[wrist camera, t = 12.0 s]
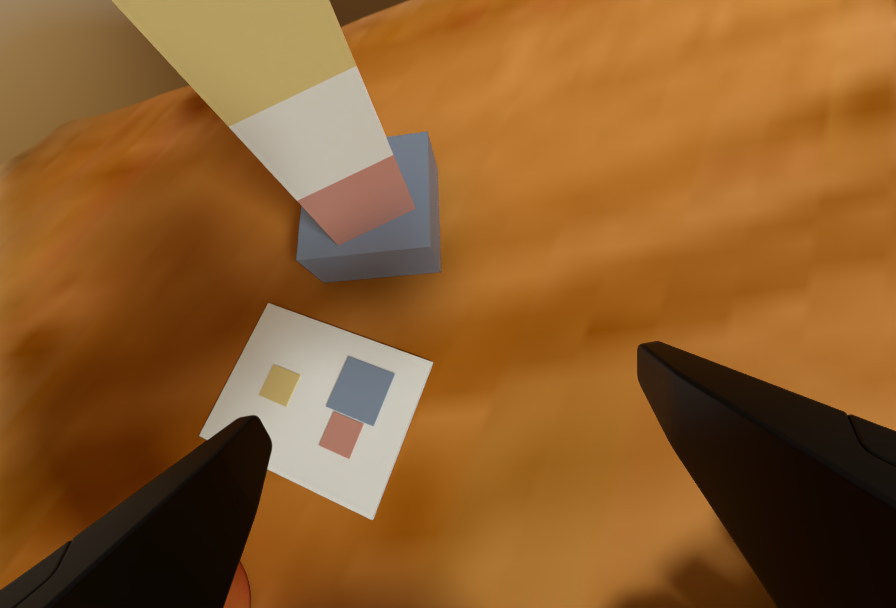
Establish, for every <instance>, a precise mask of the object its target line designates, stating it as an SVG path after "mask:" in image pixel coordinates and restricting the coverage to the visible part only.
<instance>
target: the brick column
mask: <svg viewBox="0 0 896 608" xmlns="http://www.w3.org/2000/svg"><path fill="white" fill-rule="evenodd" d="M112 1H113V2H114V3H115V4H116V6H117V7H118V8H119V9H120V10H121V11H122V12H123V13H124V14H125V15H126V16H127V18H128V19H129V20H130V21H131V22H132V23H133V24H134V25H135V26H136V27H137V28H138V29H139V31H140V32H141V33H142V34H143V35H144V36H145V37H146V38H147V39H148V40H149V41H150V42H151V43H152V45H153V46H154V47H155V48H156V49H157V50H158V51H159V52H160V53H161V54H162V55H163V56H164V57H165V59H167V61H168V62H169V63H170V64H171V65H172V66H173V67H174V68H175V70H176V71H177V72H178V73H179V74H180V75H181V76H182V77H183V78H184V79H185V80H186V81H187V82H188V84H189V85H190V86H191V87H192V88H193V89H194V90H195V91H196V92H197V93H198V94H199V95H200V97H201V98H202V99H203V100H204V101H205V102H206V103H207V104H208V105H209V106H210V107H211V108H212V110H213V111H214V112H215V113H216V114H217V115H218V116H219V117H220V118H221V119H222V120H223V121H224V123H225V124H226V125H227V126H228V127H229V128H230V129H231V130H232V131H233V132H234V133H235V134H236V136H237V137H238V138H239V139H240V140H241V141H242V142H243V143H244V144H245V145H246V146H247V147H248V148H249V150H250V151H251V152H252V153H253V154H254V155H255V156H256V157H257V158H258V159H259V160H260V161H261V163H262V164H263V165H264V166H265V167H266V168H267V169H268V170H269V171H270V172H271V173H272V174H273V176H274V177H275V178H276V179H277V180H278V181H279V182H280V183H281V184H282V185H283V186H284V187H285V189H286V190H287V191H288V192H289V193H290V194H291V195H292V196H293V197H294V198H295V199H296V200H297V202H298V203H299V204H300V205H301V206H302V207H303V208H304V209H305V210H306V211H307V212H308V213H309V215H310V216H311V217H312V218H313V219H314V220H315V221H316V222H317V223H318V224H319V225H320V226H321V227H322V229H323V230H324V231H325V232H326V233H327V234H328V235H329V236H330V237H331V238H332V239H333V240H334V242H335V243H336V244H337V245H338V246H339V245H341V244H343V243H345V242H347V241H350V240H352V239H354V238H356V237H358V236H360V235H362V234H364V233H366V232H368V231H371V230H373V229H375V228H377V227H379V226H381V225H383V224H385V223H387V222H389V221H391V220H394V219H396V218H398V217H400V216H402V215H404V214H406V213H408V212H410V211H412V210H414V209H416V208H415V205H414V203H413V200H412V198H411V196H410V193H409V191H408V188H407V186H406V184H405V181H404V179H403V176H402V174H401V172H400V169H399V167H398V164H397V162H396V160H395V157H394V155H393V152H392V150H391V148H390V145H389V143H388V140H387V138H386V136H385V133H384V131H383V128H382V126H381V124H380V121H379V119H378V116H377V114H376V112H375V109H374V107H373V104H372V102H371V100H370V97H369V95H368V92H367V90H366V88H365V85H364V83H363V80H362V78H361V76H360V73H359V71H358V68H357V66H356V64H355V61H354V59H353V56H352V54H351V52H350V49H349V47H348V44H347V42H346V40H345V37H344V35H343V32H342V30H341V27H340V25H339V23H338V20H337V18H336V15H335V13H334V11H333V9H332V6H331V3H330V1H329V0H112Z"/></svg>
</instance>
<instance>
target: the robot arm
mask: <svg viewBox="0 0 896 608" xmlns="http://www.w3.org/2000/svg"><path fill="white" fill-rule="evenodd" d="M637 376H638V381H639V383H640V386H641V388H642V390H643V392H644V394H645V396H646V398H647V400H648V402H649V403H650V405H651V407H652V409H653V411H654V413H655V415H656V417H657V419H658V421H659V423H660V425H661V427H662V429H663V431H664V433H665V435H666V437H667V439H668V441H669V442H670V444H671V446H672V447H673V449H674V451H675V452H676V454H677V455H678V457H679V458H680V460H681V461H682V463H683V464H684V466H685V468H686V469H687V471H688V472H689V474H690V475H691V477H692V478H693V480H694V481H695V483H696V484H697V486H698V487H699V489H700V490H701V492H702V493H703V495H704V496H705V498H706V499H707V501H708V502H709V504H710V506H711V507H712V509H713V510H714V512H715V513H716V515H717V516H718V518H719V519H720V521H721V522H722V524H723V525H724V527H725V528H726V530H727V531H728V533H729V534H730V536H731V537H732V539H733V540H734V542H735V544H736V545H737V547H738V548H739V550H740V551H741V553H742V554H743V556H744V557H745V559H746V560H747V562H748V563H749V565H750V566H751V568H752V569H753V571H754V572H755V574H756V575H757V577H758V578H759V580H760V582H761V583H762V585H763V586H764V588H765V589H766V591H767V592H768V594H769V595H770V597H771V598H772V600H773V601H774V603H775V604H776V606H777V607H778V608H896V431H894V430H892V429H889V428H886V427H883V426H881V425H878V424H875V423H873V422H870V421H867V420H865V419H862V418H860V417H857V416H854V415H848V416H847V414H846V413H845V412H844V411H841V410H838V409H836V408H833V407H831V406H828V405H825V404H823V403H820V402H817V401H815V400H812V399H809V398H807V397H804V396H802V395H799V394H796V393H794V392H791V391H788V390H786V389H783V388H781V387H778V386H775V385H773V384H770V383H767V382H765V381H762V380H760V379H757V378H754V377H752V376H749V375H746V374H744V373H741V372H739V371H736V370H733V369H731V368H728V367H725V366H723V365H720V364H718V363H715V362H712V361H710V360H707V359H704V358H702V357H699V356H697V355H694V354H691V353H689V352H686V351H683V350H681V349H678V348H676V347H673V346H670V345H668V344H665V343H662V342H660V341H654V342H648V343H643V344H640V345H639V346H638V349H637ZM271 452H272V441H271V438H270V436H269V434H268V432H267V431H266V429H265V427H264V425H263V423H262V422H261V420H260V418H259V417H258V416H256V415H250V416H244V417H239V418H237V419H236V420H234V421H233V422H231V423H230V424H229V425H227V426H226V427H225V428H223V429H222V430H221V431H219V432H218V433H216V434H215V435H214V436H212V437H211V438H210V439H208V440H207V441H205V442H204V443H203V444H201V445H200V446H199V447H197V448H196V449H194V450H193V451H192V452H190V453H189V454H188V455H186V456H185V457H184V458H182V459H181V460H179V461H178V462H177V463H175V464H174V465H173V466H171V467H170V468H168V469H167V470H166V471H164V472H163V473H162V474H160V475H159V476H158V477H156V478H155V479H153V480H152V481H151V482H149V483H148V484H147V485H145V486H144V487H142V488H141V489H140V490H138V491H137V492H136V493H134V494H133V495H131V496H130V497H129V498H127V499H126V500H125V501H123V502H122V503H121V504H119V505H118V506H116V507H115V508H114V509H112V510H111V511H110V512H108V513H107V514H105V515H104V516H103V517H101V518H100V519H99V520H97V521H96V522H94V523H93V524H92V525H90V526H89V527H88V528H86V529H85V530H84V531H82V532H81V533H79V534H78V535H77V536H75V537H74V538H73V540H72V541H68V542H67V543H66V544H64V545H63V546H61V547H60V548H59V549H57V550H56V551H55V552H53V553H52V554H51V555H49V556H48V557H46V558H45V559H44V560H42V561H41V562H39V563H38V564H37V565H35V566H34V567H32V568H31V569H30V570H28V571H27V572H25V573H24V574H23V575H21V576H20V577H18V578H17V579H16V580H14V581H13V582H11V583H10V584H9V585H7V586H6V587H4V588H3V589H1V590H0V608H224V605H225V602H226V599H227V596H228V593H229V590H230V588H231V585H232V582H233V579H234V576H235V573H236V570H237V567H238V565H239V562H240V559H241V556H242V553H243V550H244V547H245V544H246V542H247V539H248V536H249V533H250V530H251V527H252V524H253V521H254V518H255V515H256V512H257V508H258V505H259V501H260V497H261V493H262V489H263V485H264V481H265V477H266V472H267V468H268V464H269V460H270V456H271Z"/></svg>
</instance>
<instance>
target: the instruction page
mask: <svg viewBox="0 0 896 608" xmlns="http://www.w3.org/2000/svg"><path fill="white" fill-rule="evenodd" d="M432 365H433V362H431V361H428V360H425V359H423V358H420V357H417V356H414V355H411V354H409V353H406V352H403V351H400V350H398V349H395V348H392V347H389V346H386V345H384V344H381V343H378V342H375V341H373V340H370V339H367V338H364V337H361V336H359V335H356V334H353V333H350V332H348V331H345V330H342V329H339V328H337V327H334V326H331V325H328V324H325V323H323V322H320V321H317V320H314V319H312V318H309V317H306V316H303V315H300V314H298V313H295V312H292V311H289V310H287V309H284V308H281V307H278V306H275V305H273V304H270V303H268V304H267V306H266V308H265V310H264V312H263V314H262V316H261V318H260V320H259V321H258V323H257V325H256V327H255V329H254V331H253V333H252V335H251V337H250V339H249V341H248V343H247V345H246V346H245V348H244V350H243V352H242V354H241V356H240V358H239V360H238V362H237V364H236V366H235V368H234V369H233V371H232V373H231V375H230V377H229V379H228V381H227V383H226V385H225V387H224V389H223V391H222V393H221V394H220V396H219V398H218V400H217V402H216V404H215V406H214V408H213V410H212V412H211V414H210V416H209V418H208V419H207V421H206V423H205V425H204V427H203V429H202V431H201V433H200V435H199V436H200V437H202V438H204V439H206V440H208V439H210V438H211V437H212V436H214V435H215V434H216V433H218V432H219V431H221V430H222V429H223V428H225V427H226V426H227V425H229V424H230V423H231V422H233V421H234V420H236V419H237V418H239V417H244V416H250V415H256V416H258V417H259V418H260V420H261V422H262V423H263V425H264V427H265V429H266V431H267V432H268V434H269V436H270V438H271V441H272V452H271V456H270V460H269V464H268V468H267V469H268V470H270V471H272V472H274V473H276V474H278V475H280V476H282V477H284V478H286V479H289V480H291V481H293V482H295V483H297V484H299V485H301V486H303V487H305V488H307V489H309V490H311V491H313V492H315V493H317V494H319V495H321V496H324V497H326V498H328V499H330V500H332V501H334V502H336V503H338V504H340V505H342V506H344V507H346V508H348V509H350V510H352V511H354V512H356V513H359V514H361V515H363V516H365V517H367V518H369V519H371V520H373V519H374V516H375V514H376V511H377V509H378V506H379V503H380V501H381V498H382V495H383V493H384V490H385V488H386V485H387V482H388V480H389V477H390V475H391V472H392V469H393V467H394V464H395V462H396V459H397V456H398V454H399V451H400V449H401V446H402V443H403V441H404V438H405V436H406V433H407V430H408V428H409V425H410V423H411V420H412V417H413V415H414V412H415V410H416V407H417V404H418V402H419V399H420V397H421V394H422V391H423V389H424V386H425V383H426V381H427V378H428V376H429V373H430V370H431V368H432Z"/></svg>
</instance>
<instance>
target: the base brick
mask: <svg viewBox="0 0 896 608" xmlns="http://www.w3.org/2000/svg"><path fill="white" fill-rule="evenodd" d="M386 138H387V140H388V143H389V145H390V148H391V150H392V152H393V155H394V157H395V160H396V162H397V164H398V167H399V169H400V172H401V174H402V176H403V179H404V181H405V184H406V186H407V188H408V191H409V193H410V196H411V198H412V200H413V203H414V205H415V208H416V209H414V210H412V211H410V212H408V213H406V214H404V215H402V216H400V217H398V218H396V219H394V220H391V221H389V222H387V223H385V224H383V225H381V226H379V227H377V228H375V229H373V230H371V231H368V232H366V233H364V234H362V235H360V236H358V237H356V238H354V239H352V240H350V241H347V242H345V243H343V244H341V245H339V246H338V245H337V244H336V243H335V242H334V240H333V239H332V238H331V237H330V236H329V235H328V234H327V233H326V232H325V231H324V230H323V229H322V227H321V226H320V225H319V224H318V223H317V222H316V221H315V220H314V219H313V218H312V217H311V216H310V215H309V213H308V212H307V211H306V210H305V209H304V208H303V207H302V206H301V215H300V225H299V235H298V246H297V256H296V261H298V262H299V263H300V264H301V265H302V266H304V267H305V268H306V269H307V270H309V271H310V272H311V273H312V274H314V275H315V276H316V277H317V278H318V279H320V280H321V281H322V282H323V283H326V282H337V281H348V280H359V279H370V278H381V277H393V276H404V275H415V274H426V273H437V272H441V254H440V224H439V194H438V169H437V165H436V161H435V157H434V154H433V150H432V146H431V142H430V138H429V135H428V132H421V133H414V134H406V135H399V136H392V137H386Z"/></svg>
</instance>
